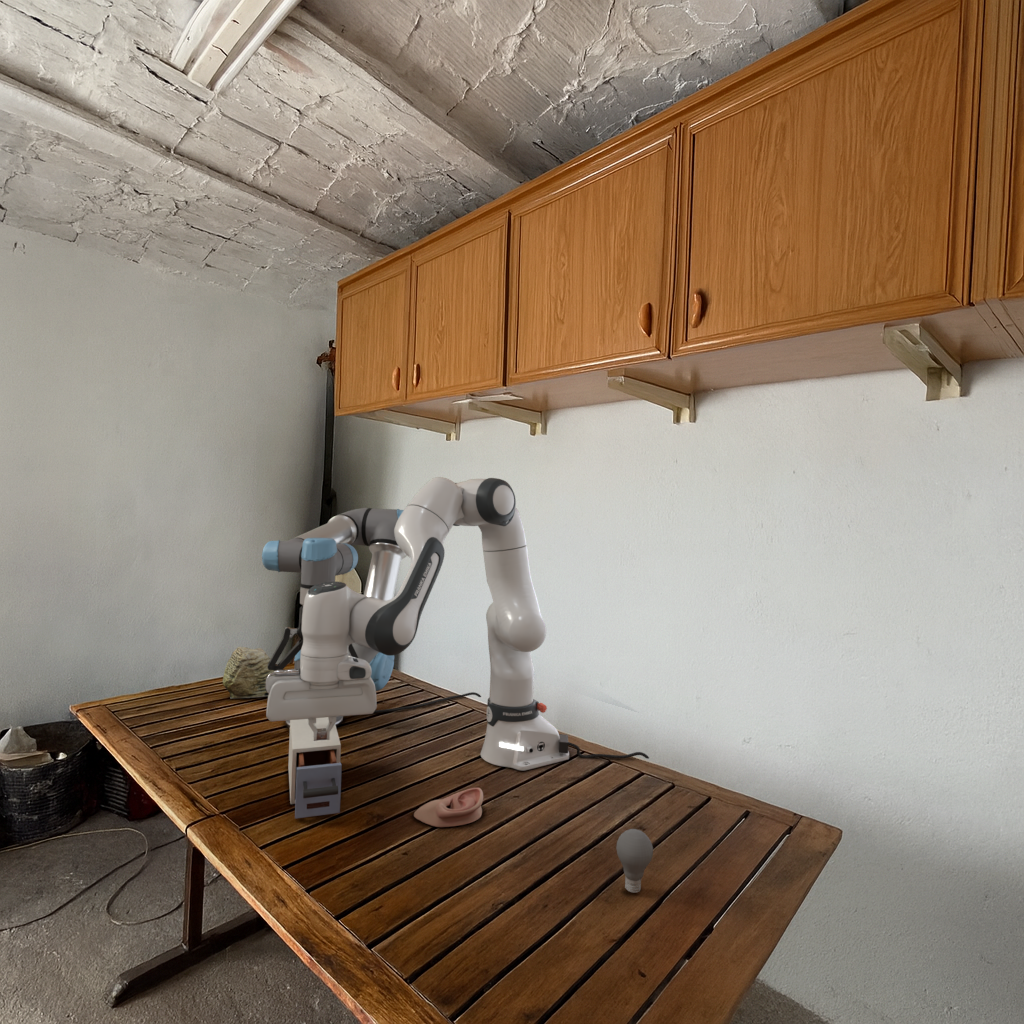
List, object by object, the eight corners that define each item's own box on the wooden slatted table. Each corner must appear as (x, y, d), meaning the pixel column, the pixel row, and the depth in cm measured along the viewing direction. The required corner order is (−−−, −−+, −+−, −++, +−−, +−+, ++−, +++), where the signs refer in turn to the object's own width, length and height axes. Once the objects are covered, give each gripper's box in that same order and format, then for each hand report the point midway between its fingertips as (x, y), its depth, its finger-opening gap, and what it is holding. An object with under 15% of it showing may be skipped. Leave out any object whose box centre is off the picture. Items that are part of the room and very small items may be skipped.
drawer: (342, 826, 121) (344, 776, 120) (296, 833, 118) (297, 781, 117) (332, 775, 142) (333, 733, 142) (292, 780, 139) (294, 736, 139)
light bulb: (610, 879, 108) (613, 822, 108) (644, 879, 109) (647, 822, 109) (619, 902, 102) (622, 840, 102) (655, 901, 103) (658, 840, 103)
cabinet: (338, 798, 133) (340, 744, 133) (290, 804, 130) (292, 749, 130) (331, 762, 151) (332, 715, 150) (288, 767, 147) (290, 718, 147)
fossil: (218, 695, 195) (220, 647, 195) (278, 685, 208) (279, 640, 207) (228, 703, 189) (230, 653, 188) (289, 692, 201) (290, 645, 201)
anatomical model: (408, 802, 124) (427, 778, 135) (407, 822, 124) (427, 796, 136) (473, 812, 122) (488, 786, 133) (473, 832, 122) (487, 805, 133)
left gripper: (258, 609, 137) (254, 707, 137) (374, 607, 146) (371, 698, 146) (258, 603, 144) (255, 696, 144) (370, 601, 153) (366, 689, 153)
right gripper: (265, 675, 115) (262, 750, 115) (379, 669, 122) (376, 740, 122) (266, 666, 120) (263, 738, 121) (374, 660, 128) (371, 728, 128)
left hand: (313, 697), depth 145 cm, fingers open, 13 cm apart
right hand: (321, 739), depth 121 cm, fingers closed
